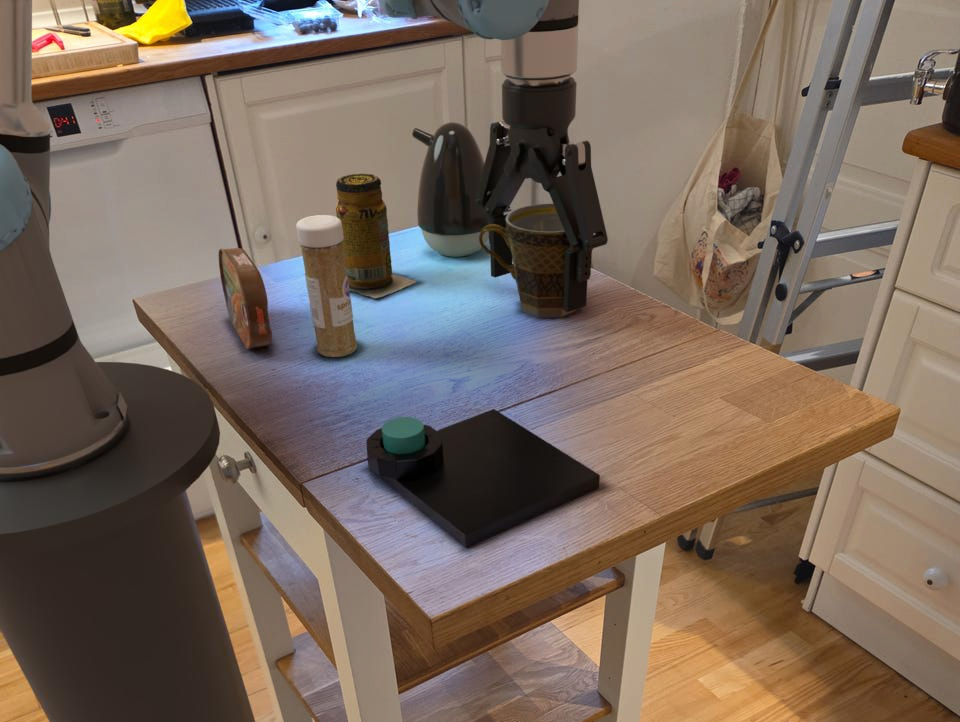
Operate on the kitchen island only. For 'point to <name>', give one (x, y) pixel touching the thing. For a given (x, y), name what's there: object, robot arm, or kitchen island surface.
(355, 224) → the condiment
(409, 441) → the button
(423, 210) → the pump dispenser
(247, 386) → the kitchen island surface
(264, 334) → the tin
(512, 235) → the ceramic cup
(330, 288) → the spice jar
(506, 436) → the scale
